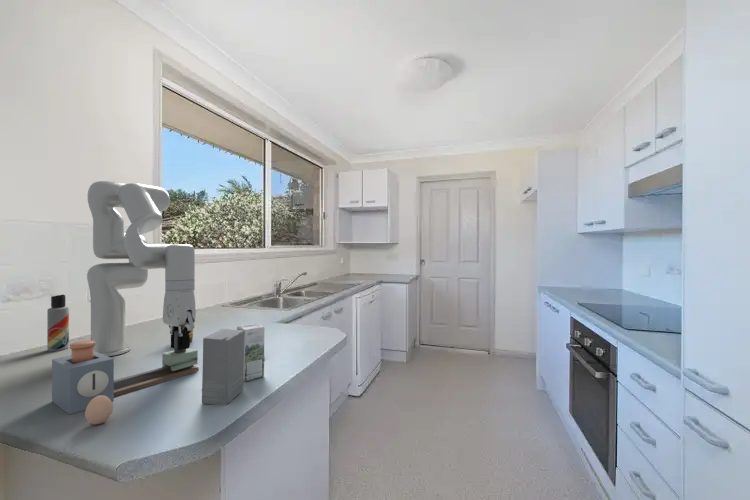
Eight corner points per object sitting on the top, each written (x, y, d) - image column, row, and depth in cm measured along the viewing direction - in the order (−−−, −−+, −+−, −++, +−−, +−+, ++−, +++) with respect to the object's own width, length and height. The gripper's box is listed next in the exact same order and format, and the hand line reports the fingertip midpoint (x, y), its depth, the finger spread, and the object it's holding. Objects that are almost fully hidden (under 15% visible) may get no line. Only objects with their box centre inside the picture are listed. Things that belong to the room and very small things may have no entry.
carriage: (162, 367, 97) (162, 332, 97) (186, 360, 103) (186, 327, 103) (173, 371, 94) (173, 335, 94) (197, 363, 99) (197, 330, 99)
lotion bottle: (58, 351, 119) (58, 295, 119) (42, 351, 119) (42, 295, 119) (73, 347, 124) (73, 293, 124) (58, 347, 124) (58, 293, 125)
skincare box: (220, 390, 85) (220, 328, 85) (246, 391, 84) (246, 328, 85) (199, 405, 77) (199, 336, 77) (228, 406, 76) (228, 337, 76)
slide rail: (102, 390, 85) (102, 380, 85) (185, 366, 103) (185, 357, 103) (114, 396, 81) (114, 386, 81) (198, 370, 99) (198, 361, 99)
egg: (106, 427, 67) (106, 399, 67) (80, 430, 66) (80, 401, 66) (116, 416, 72) (116, 390, 72) (92, 419, 70) (92, 392, 70)
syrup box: (255, 371, 98) (255, 322, 98) (264, 377, 94) (264, 325, 94) (236, 376, 94) (236, 325, 94) (244, 382, 90) (244, 329, 90)
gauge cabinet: (52, 401, 79) (52, 359, 79) (94, 389, 86) (94, 350, 86) (70, 415, 72) (71, 369, 72) (115, 401, 79) (115, 359, 79)
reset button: (66, 364, 78) (66, 343, 78) (91, 358, 82) (91, 339, 82) (73, 367, 76) (73, 346, 76) (98, 362, 80) (98, 342, 80)
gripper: (152, 285, 99) (152, 347, 99) (181, 288, 91) (181, 356, 91) (178, 283, 106) (178, 341, 106) (208, 286, 97) (208, 349, 97)
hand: (180, 347), depth 98 cm, fingers closed on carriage, 3 cm apart
